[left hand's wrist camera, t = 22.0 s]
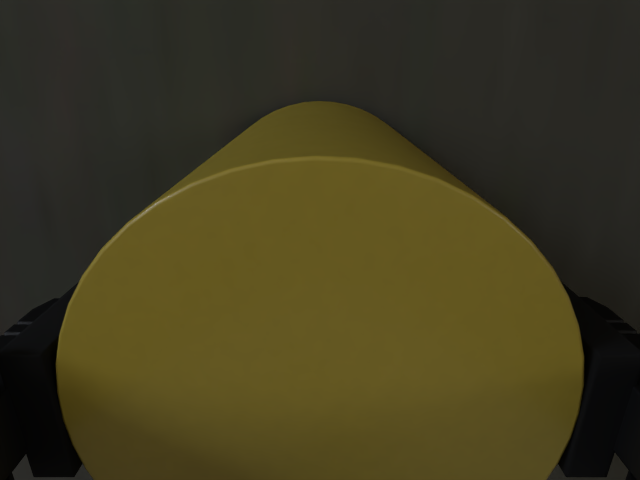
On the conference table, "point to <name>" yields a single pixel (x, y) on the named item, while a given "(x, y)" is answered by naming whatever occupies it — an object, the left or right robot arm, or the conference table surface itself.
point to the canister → (320, 322)
